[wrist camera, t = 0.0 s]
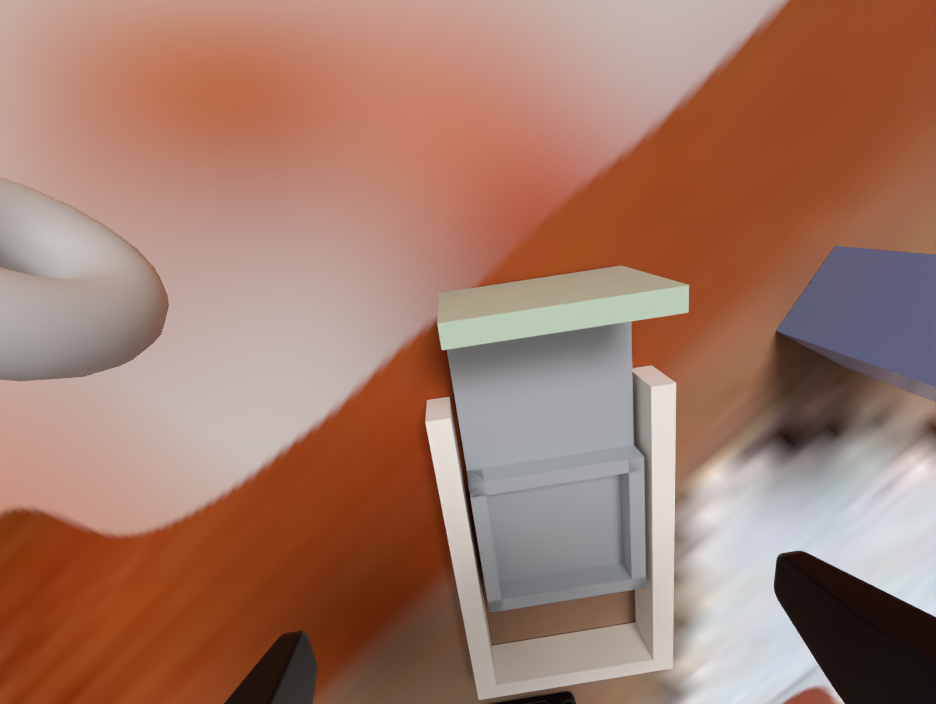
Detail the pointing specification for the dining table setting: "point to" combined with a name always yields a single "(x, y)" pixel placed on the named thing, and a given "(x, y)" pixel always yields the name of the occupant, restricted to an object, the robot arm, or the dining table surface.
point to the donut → (69, 291)
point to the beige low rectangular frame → (590, 649)
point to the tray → (553, 429)
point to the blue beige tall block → (872, 316)
